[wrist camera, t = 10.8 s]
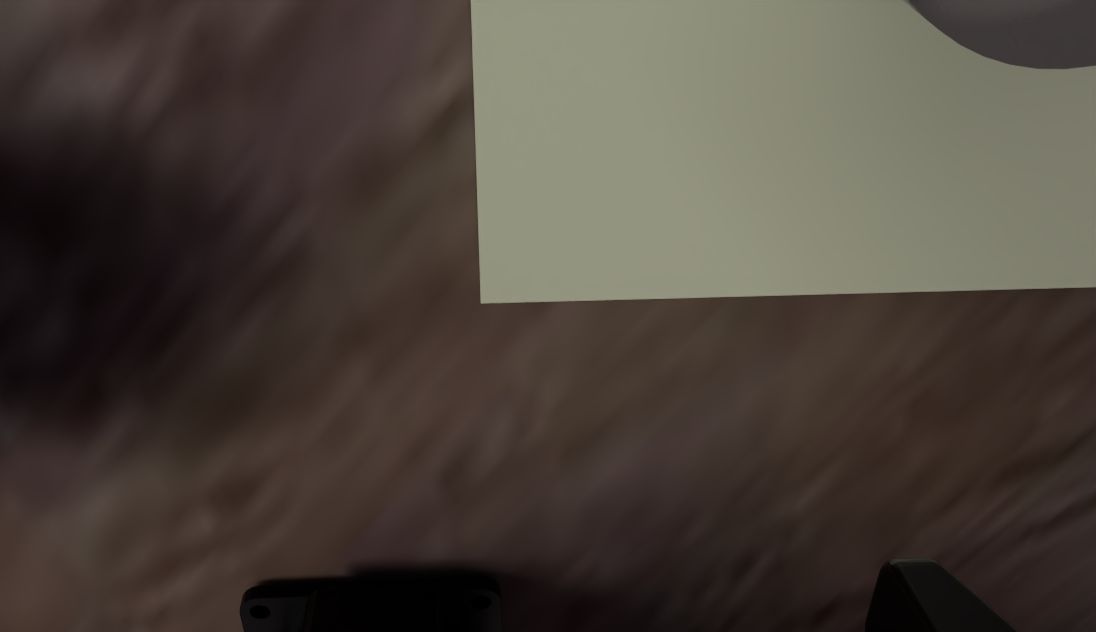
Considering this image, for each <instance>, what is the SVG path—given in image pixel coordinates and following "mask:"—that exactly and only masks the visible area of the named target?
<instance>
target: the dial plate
mask: <svg viewBox="0 0 1096 632" xmlns="http://www.w3.org/2000/svg"><path fill="white" fill-rule="evenodd" d="M471 19H472V49H473V80H474V110H475V140H476V171H477V201H478V231H479V262H480V292H481V303H513V302H551V301H589V300H627V299H665V298H702V297H740V296H778V295H816V294H854V293H891V292H929V291H967V290H1005V289H1043V288H1081V287H1096V66H1089V67H1080V68H1071V69H1035V68H1028V67H1022V66H1015V65H1009V64H1006V63H1003V62H999V61H996V60H993V59H990V58H986V57H983V56H981V55H979V54H977V53H975V52H973V51H971V50H969V49H967V48H965V47H963V46H961V45H959V44H958V43H956V42H955V41H954V40H952V39H951V38H949V37H948V36H947V35H945V34H944V33H942V32H941V31H940V30H938V29H937V28H936V27H935V26H933V25H932V24H931V23H930V22H928V21H927V20H926V19H925V18H924V17H922V16H921V15H920V14H919V13H918V12H916V11H915V10H914V9H913V8H911V7H910V6H909V5H908V4H907V3H905V2H904V1H903V0H471Z"/></svg>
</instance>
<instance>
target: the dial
mask: <svg viewBox="0 0 1096 632" xmlns="http://www.w3.org/2000/svg"><path fill="white" fill-rule="evenodd" d="M903 1H904V2H905V3H907V4H908V5H909V6H910V7H911V8H913V9H914V10H915V11H916V12H918V13H919V14H920V15H921V16H922V17H924V18H925V19H926V20H927V21H928V22H930V23H931V24H932V25H933V26H935V27H936V28H937V29H938V30H940V31H941V32H942V33H944V34H945V35H947V36H948V37H949V38H951V39H952V40H954V41H955V42H956V43H958V44H959V45H961V46H963V47H965V48H967V49H969V50H971V51H973V52H975V53H977V54H979V55H981V56H983V57H986V58H990V59H993V60H996V61H999V62H1003V63H1006V64H1009V65H1015V66H1022V67H1028V68H1035V69H1071V68H1080V67H1089V66H1096V0H903Z"/></svg>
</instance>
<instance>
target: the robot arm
mask: <svg viewBox="0 0 1096 632" xmlns="http://www.w3.org/2000/svg"><path fill="white" fill-rule="evenodd" d="M477 596H483V597H477ZM259 605H261V606H259ZM240 616H241V621H242V625H243V629H244V632H502V630H501V592H500V586H499V584H498V583H497V582H496V581H495V580H493V579H491V578H488V577H461V578H437V579H413V580H390V581H366V582H342V583H318V584H295V585H271V586H257V587H252V588H250V589H248V590H247V591H246V592H245V593H244V595H243V597H242V602H241V606H240ZM865 632H1019V631H1018V630H1017V629H1015V628H1014V627H1013V626H1012V625H1011V624H1010V623H1008V622H1007V621H1006V620H1005V619H1004V618H1003V617H1001V616H1000V615H999V614H998V613H997V612H996V611H994V610H993V609H992V608H991V607H990V606H989V605H988V604H986V603H985V602H984V601H983V600H982V599H981V598H979V597H978V596H977V595H976V594H975V593H974V592H972V591H971V590H970V589H969V588H968V587H967V586H965V585H964V584H963V583H962V582H961V581H960V580H958V579H957V578H956V577H955V576H954V575H953V574H952V573H950V572H949V571H948V570H947V569H946V568H945V567H943V566H942V565H941V564H940V563H938V562H936V561H934V560H932V559H929V558H909V559H891V560H888V561H886V562H885V563H884V564H883V566H882V567H881V569H880V572H879V575H878V579H877V582H876V586H875V589H874V593H873V597H872V600H871V604H870V607H869V611H868V614H867V618H866V623H865Z"/></svg>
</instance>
